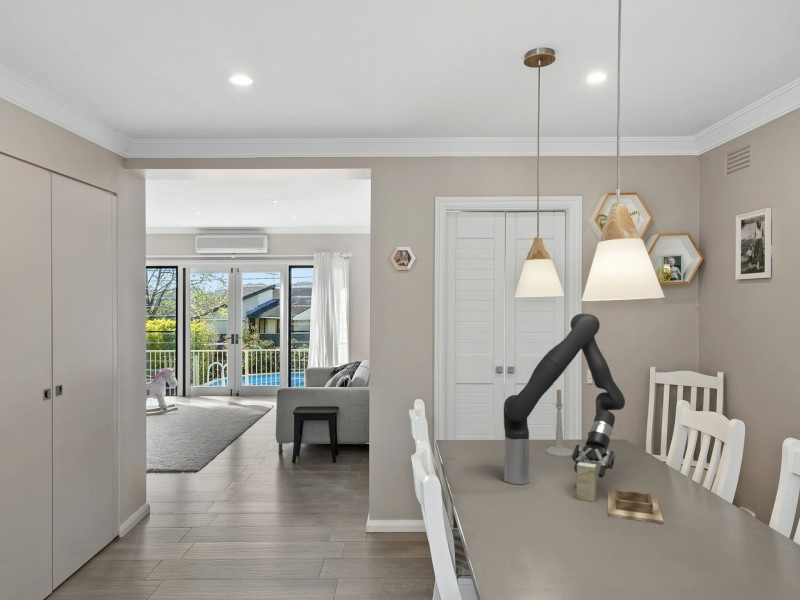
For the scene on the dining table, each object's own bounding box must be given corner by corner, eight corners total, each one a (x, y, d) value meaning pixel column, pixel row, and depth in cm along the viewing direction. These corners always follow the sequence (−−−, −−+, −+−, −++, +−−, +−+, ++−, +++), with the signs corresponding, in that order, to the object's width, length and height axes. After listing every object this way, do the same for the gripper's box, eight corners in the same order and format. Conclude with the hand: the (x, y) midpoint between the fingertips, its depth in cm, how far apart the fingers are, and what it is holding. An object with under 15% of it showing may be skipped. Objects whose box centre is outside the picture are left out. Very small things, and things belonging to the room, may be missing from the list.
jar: (583, 458, 229) (583, 432, 230) (596, 456, 233) (595, 430, 234) (599, 464, 222) (599, 436, 222) (612, 461, 225) (612, 434, 226)
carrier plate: (608, 516, 165) (607, 503, 165) (607, 495, 183) (607, 484, 183) (663, 524, 159) (662, 511, 159) (657, 501, 177) (657, 490, 177)
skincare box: (576, 499, 180) (576, 464, 180) (578, 495, 184) (578, 461, 184) (595, 502, 177) (594, 467, 177) (596, 498, 181) (596, 463, 181)
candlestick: (577, 456, 233) (576, 391, 234) (549, 456, 233) (549, 391, 234) (568, 449, 246) (568, 387, 246) (542, 449, 246) (541, 387, 247)
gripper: (578, 427, 193) (565, 464, 184) (616, 433, 184) (605, 472, 175) (583, 438, 197) (571, 475, 188) (621, 445, 188) (611, 484, 179)
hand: (588, 474), depth 182 cm, fingers open, 8 cm apart
